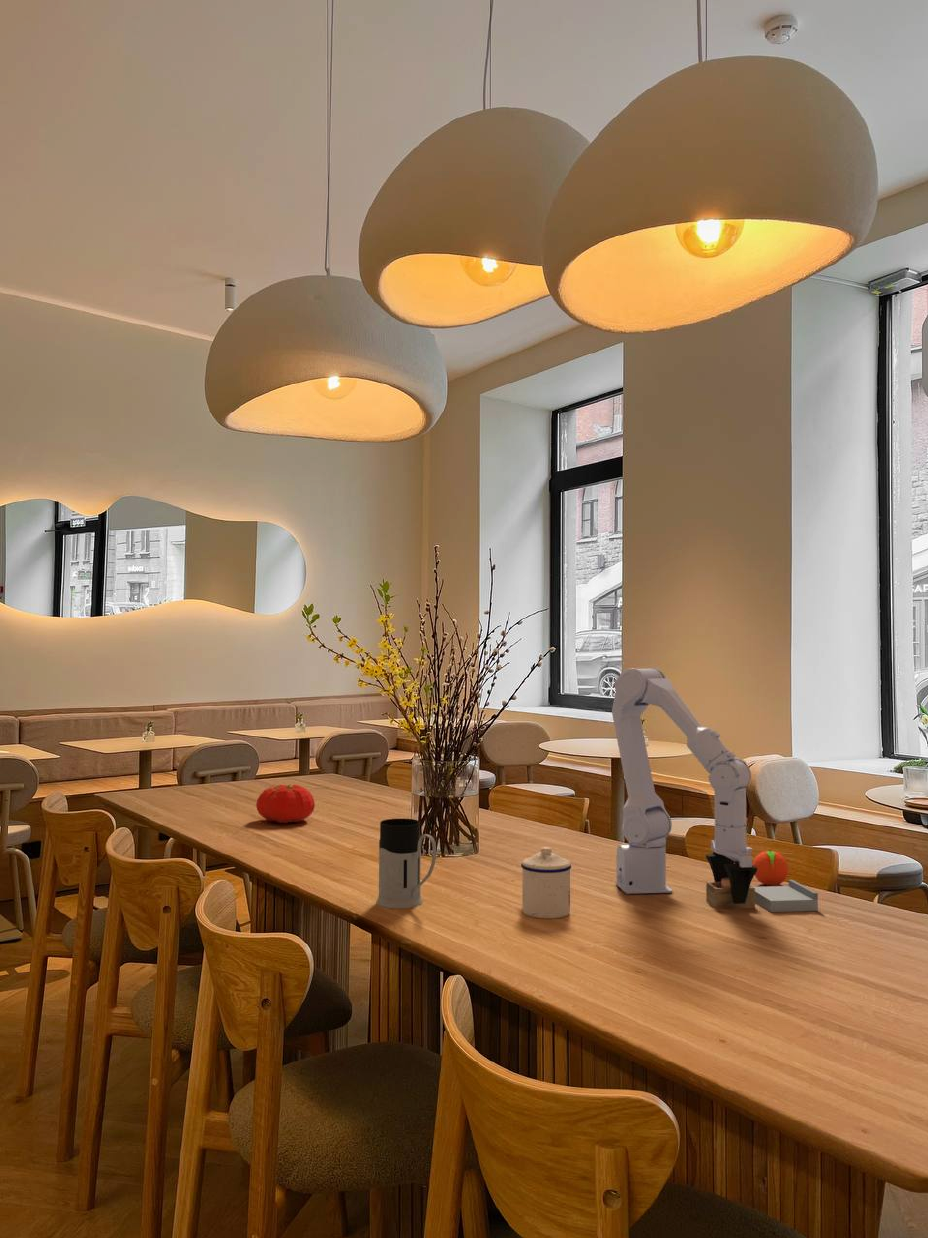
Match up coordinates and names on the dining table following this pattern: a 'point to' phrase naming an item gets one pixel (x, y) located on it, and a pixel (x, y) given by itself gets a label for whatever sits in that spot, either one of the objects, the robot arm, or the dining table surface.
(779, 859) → the red fruit
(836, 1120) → the dining table surface
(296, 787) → the tomato
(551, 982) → the dining table surface
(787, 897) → the dock
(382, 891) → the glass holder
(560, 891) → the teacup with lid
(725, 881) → the ball
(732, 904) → the open wooden crate
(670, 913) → the dining table surface
